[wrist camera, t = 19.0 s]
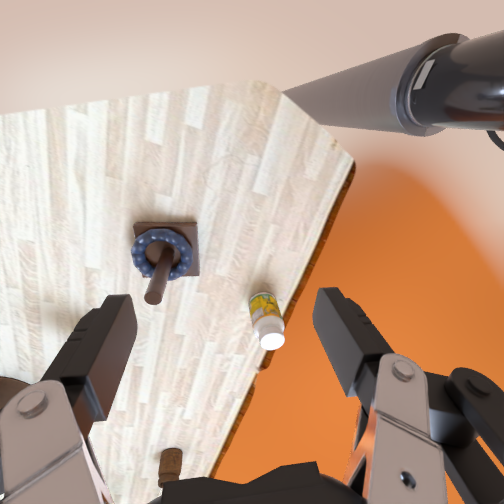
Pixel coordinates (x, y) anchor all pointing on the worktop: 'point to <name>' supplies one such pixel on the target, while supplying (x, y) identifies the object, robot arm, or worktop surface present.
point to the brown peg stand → (167, 256)
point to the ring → (169, 237)
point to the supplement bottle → (267, 320)
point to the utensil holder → (169, 466)
